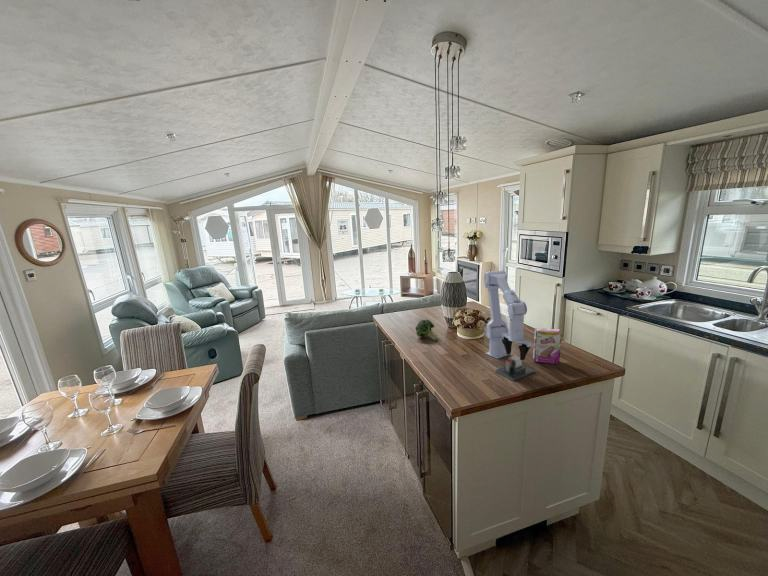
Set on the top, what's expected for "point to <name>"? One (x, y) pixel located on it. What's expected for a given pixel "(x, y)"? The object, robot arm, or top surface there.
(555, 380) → the top surface
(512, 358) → the layered white box
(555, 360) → the candy bar box
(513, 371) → the stand base
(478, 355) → the top surface
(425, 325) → the vegetable
